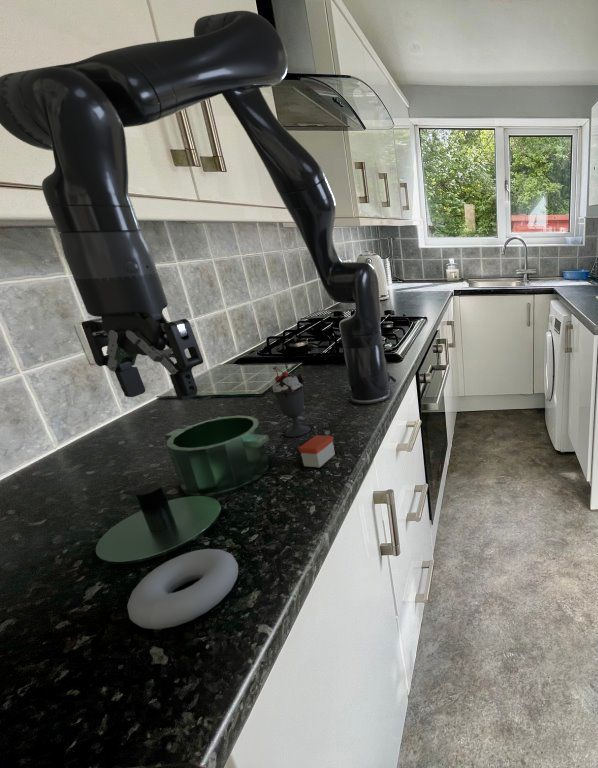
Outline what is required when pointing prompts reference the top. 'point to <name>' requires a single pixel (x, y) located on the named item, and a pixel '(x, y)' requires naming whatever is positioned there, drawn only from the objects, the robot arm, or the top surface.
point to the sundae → (290, 400)
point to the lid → (157, 526)
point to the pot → (218, 455)
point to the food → (317, 451)
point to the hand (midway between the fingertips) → (161, 396)
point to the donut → (167, 609)
